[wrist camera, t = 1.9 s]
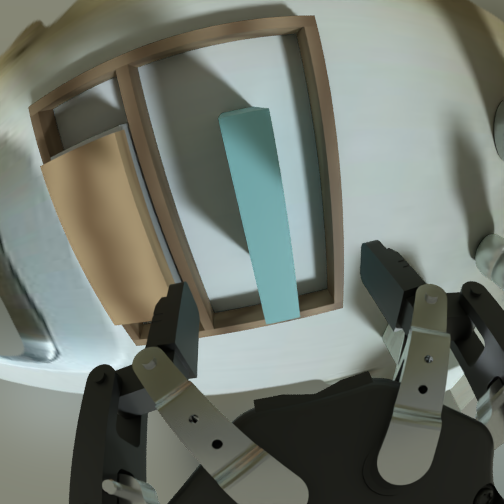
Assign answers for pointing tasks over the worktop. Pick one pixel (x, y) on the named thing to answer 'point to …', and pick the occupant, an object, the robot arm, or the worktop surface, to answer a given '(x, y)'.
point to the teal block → (262, 208)
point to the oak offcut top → (110, 227)
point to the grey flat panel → (145, 192)
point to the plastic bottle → (491, 259)
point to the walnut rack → (156, 177)
